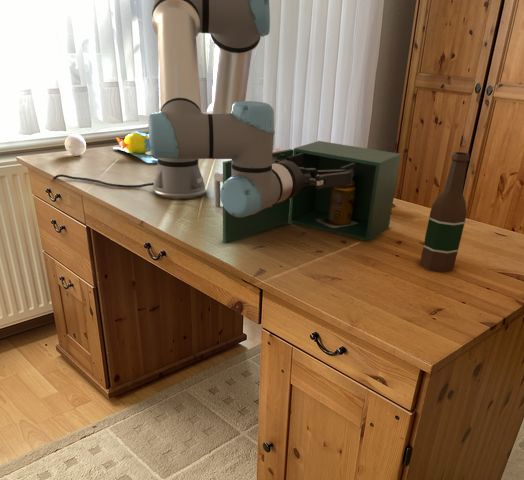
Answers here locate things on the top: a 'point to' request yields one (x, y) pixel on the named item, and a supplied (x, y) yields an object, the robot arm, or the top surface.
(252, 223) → the green cabinet door
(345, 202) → the condiment
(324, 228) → the green open cabinet
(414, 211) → the top surface
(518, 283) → the top surface
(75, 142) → the white egg
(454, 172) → the beer bottle
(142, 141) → the yellow and blue toy
